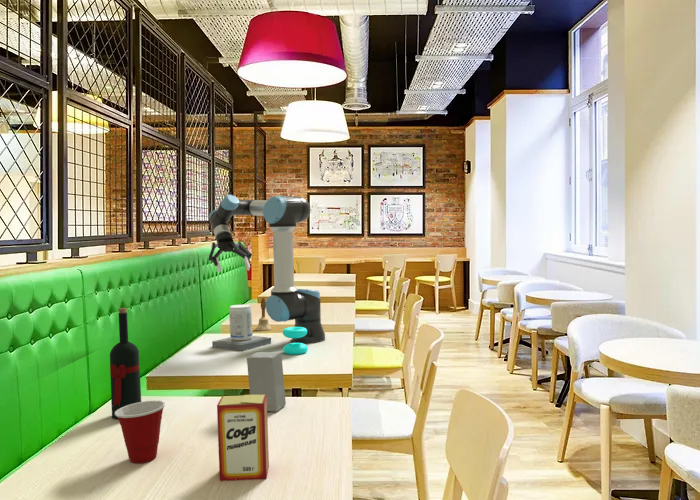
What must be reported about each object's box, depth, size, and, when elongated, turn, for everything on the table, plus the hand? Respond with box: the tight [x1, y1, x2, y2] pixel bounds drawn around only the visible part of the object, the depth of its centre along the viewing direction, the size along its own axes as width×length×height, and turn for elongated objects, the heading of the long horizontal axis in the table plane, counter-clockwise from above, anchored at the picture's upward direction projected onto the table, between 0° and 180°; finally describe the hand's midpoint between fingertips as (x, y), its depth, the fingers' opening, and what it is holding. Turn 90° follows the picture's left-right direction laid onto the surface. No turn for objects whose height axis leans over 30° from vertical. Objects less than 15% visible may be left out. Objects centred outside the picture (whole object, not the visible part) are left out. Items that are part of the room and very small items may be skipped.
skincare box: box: [246, 351, 287, 413], centre depth 170 cm, size 8×7×16 cm
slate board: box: [211, 335, 272, 352], centre depth 263 cm, size 18×18×3 cm
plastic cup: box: [115, 400, 166, 464], centre depth 135 cm, size 11×11×12 cm
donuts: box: [282, 326, 309, 356], centre depth 245 cm, size 10×10×10 cm
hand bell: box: [255, 297, 273, 332], centre depth 303 cm, size 8×8×16 cm
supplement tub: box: [228, 303, 253, 341], centre depth 263 cm, size 10×10×15 cm
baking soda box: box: [216, 394, 270, 482], centre depth 125 cm, size 10×6×16 cm
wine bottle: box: [109, 307, 142, 421], centre depth 165 cm, size 8×10×30 cm
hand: (234, 269), depth 272 cm, fingers open, 13 cm apart
